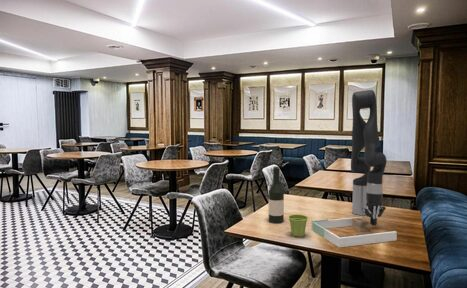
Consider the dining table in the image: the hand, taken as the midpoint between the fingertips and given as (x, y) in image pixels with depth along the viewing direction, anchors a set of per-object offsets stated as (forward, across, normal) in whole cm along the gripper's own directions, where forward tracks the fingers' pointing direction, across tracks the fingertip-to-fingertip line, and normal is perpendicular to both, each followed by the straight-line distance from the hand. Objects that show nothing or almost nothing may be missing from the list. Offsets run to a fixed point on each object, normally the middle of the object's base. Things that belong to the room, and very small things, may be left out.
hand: (373, 225), depth 161 cm
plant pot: (+2, +41, -2) cm, 41 cm away
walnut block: (+2, +7, 0) cm, 7 cm away
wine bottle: (+2, +43, -24) cm, 50 cm away
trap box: (+2, +16, +5) cm, 17 cm away
